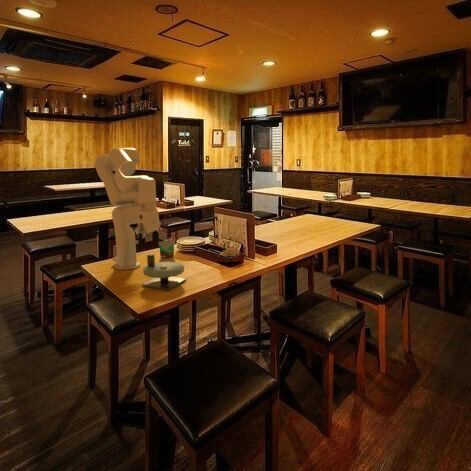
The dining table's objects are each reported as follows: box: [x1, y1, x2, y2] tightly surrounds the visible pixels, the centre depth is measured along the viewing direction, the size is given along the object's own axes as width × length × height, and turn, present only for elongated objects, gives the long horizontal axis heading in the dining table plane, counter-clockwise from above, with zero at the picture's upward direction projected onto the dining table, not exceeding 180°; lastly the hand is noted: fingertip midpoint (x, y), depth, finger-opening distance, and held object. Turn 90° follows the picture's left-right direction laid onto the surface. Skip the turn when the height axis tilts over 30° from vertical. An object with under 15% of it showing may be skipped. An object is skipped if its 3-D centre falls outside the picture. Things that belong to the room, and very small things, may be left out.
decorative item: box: [219, 247, 241, 256], centre depth 199 cm, size 12×9×10 cm
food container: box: [158, 236, 176, 259], centre depth 207 cm, size 12×6×10 cm, turn 159°
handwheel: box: [142, 253, 185, 279], centre depth 164 cm, size 18×18×6 cm
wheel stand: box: [141, 276, 187, 292], centre depth 166 cm, size 14×14×6 cm
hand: (149, 243), depth 165 cm, fingers open, 9 cm apart
